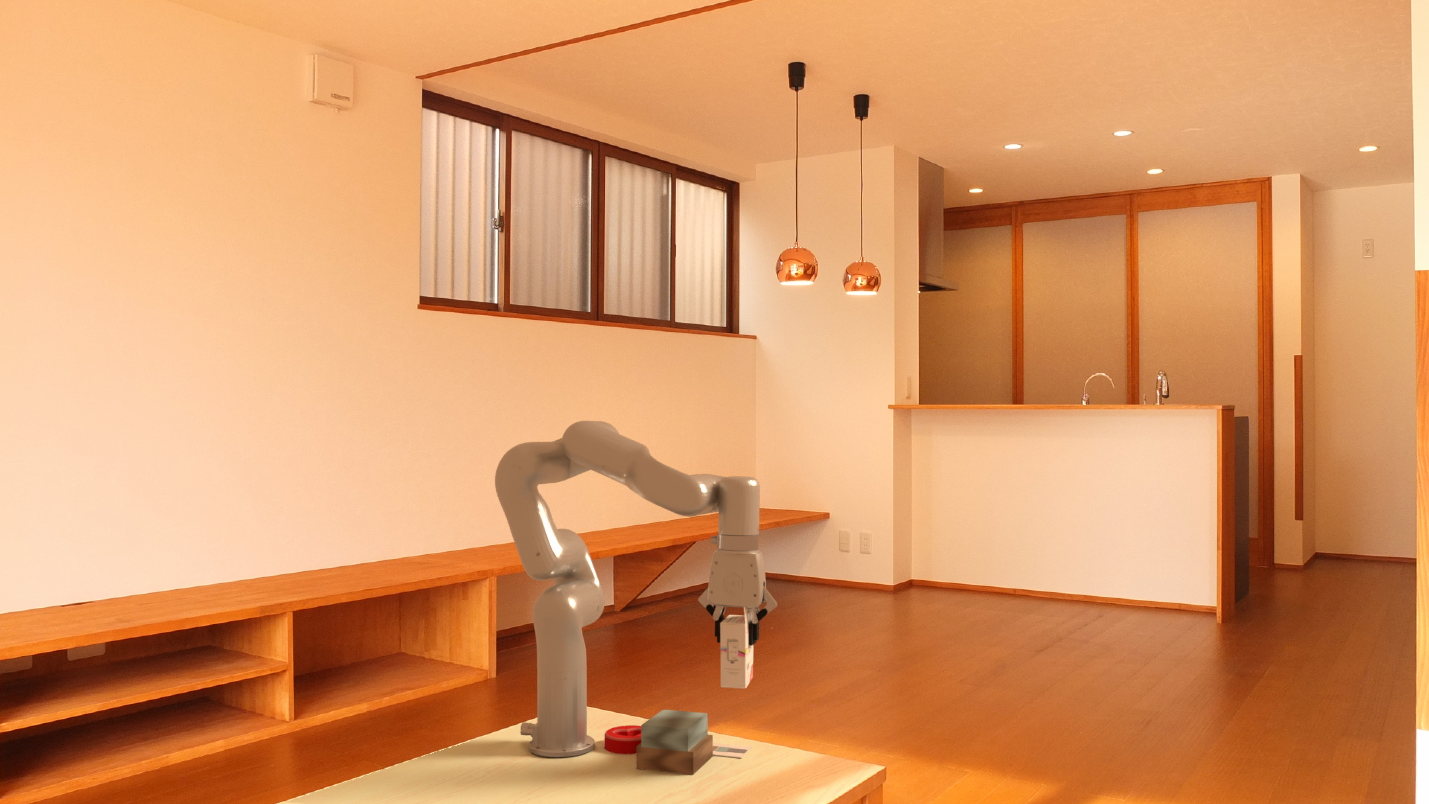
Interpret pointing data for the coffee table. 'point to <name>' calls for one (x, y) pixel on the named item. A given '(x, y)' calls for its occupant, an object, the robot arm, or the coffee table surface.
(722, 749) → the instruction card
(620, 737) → the decorative ornament
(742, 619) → the ink cartridge box
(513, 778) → the coffee table surface
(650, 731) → the pedestal
